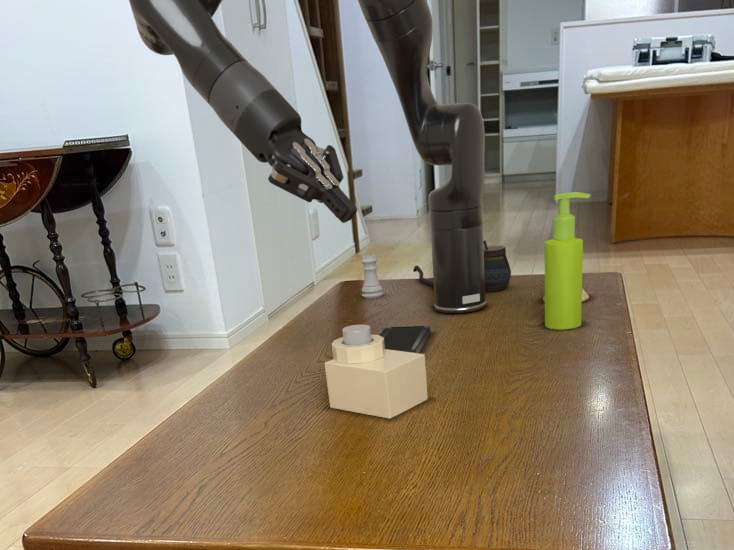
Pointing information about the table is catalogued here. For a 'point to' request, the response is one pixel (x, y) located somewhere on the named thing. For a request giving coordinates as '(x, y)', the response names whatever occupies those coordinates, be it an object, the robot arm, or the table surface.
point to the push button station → (375, 378)
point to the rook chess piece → (370, 278)
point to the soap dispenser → (564, 269)
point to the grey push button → (357, 335)
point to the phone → (405, 338)
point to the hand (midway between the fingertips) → (351, 216)
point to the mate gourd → (496, 268)
